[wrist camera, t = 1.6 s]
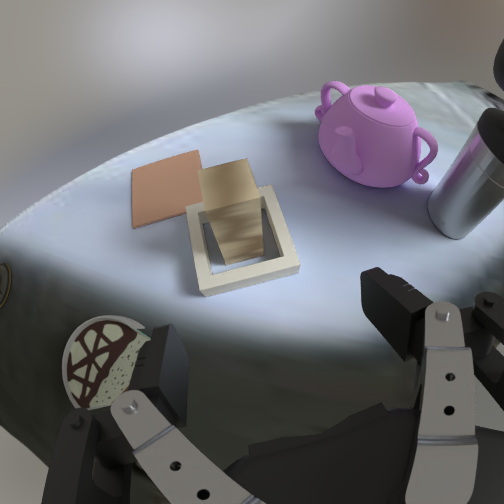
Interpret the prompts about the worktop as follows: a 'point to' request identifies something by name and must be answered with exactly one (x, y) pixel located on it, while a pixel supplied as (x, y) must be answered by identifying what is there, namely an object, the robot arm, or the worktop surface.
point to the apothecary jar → (4, 282)
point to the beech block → (233, 210)
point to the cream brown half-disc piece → (101, 360)
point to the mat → (165, 188)
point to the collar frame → (247, 274)
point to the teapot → (372, 136)
